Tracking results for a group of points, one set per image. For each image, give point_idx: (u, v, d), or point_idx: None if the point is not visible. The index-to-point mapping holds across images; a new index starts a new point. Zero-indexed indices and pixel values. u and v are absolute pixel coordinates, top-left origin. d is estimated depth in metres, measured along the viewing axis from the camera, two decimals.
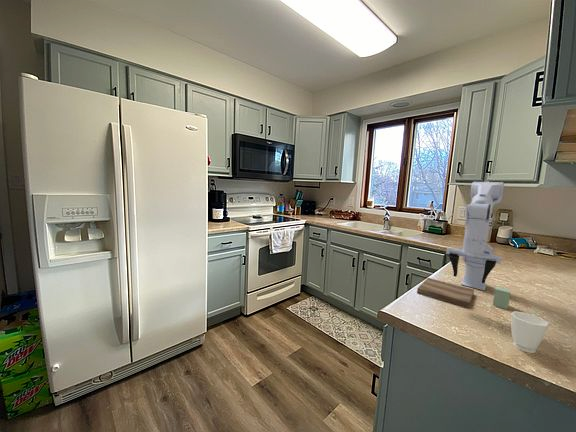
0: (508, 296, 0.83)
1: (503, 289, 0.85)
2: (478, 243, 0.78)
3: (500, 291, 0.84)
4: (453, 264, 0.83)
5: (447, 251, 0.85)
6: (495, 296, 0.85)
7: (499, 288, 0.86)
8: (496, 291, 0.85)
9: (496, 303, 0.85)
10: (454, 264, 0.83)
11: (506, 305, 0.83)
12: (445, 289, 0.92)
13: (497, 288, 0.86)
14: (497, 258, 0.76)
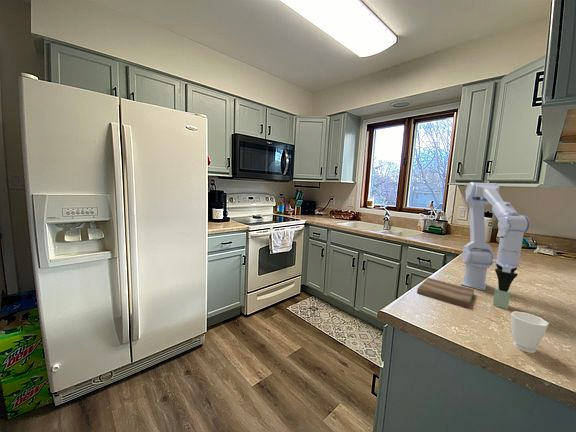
0: (508, 296, 0.83)
1: None
2: (499, 251, 0.84)
3: (500, 291, 0.84)
4: None
5: None
6: (495, 296, 0.85)
7: None
8: (496, 291, 0.85)
9: (496, 303, 0.85)
10: None
11: (506, 305, 0.83)
12: (445, 289, 0.92)
13: (497, 288, 0.86)
14: (502, 266, 0.80)
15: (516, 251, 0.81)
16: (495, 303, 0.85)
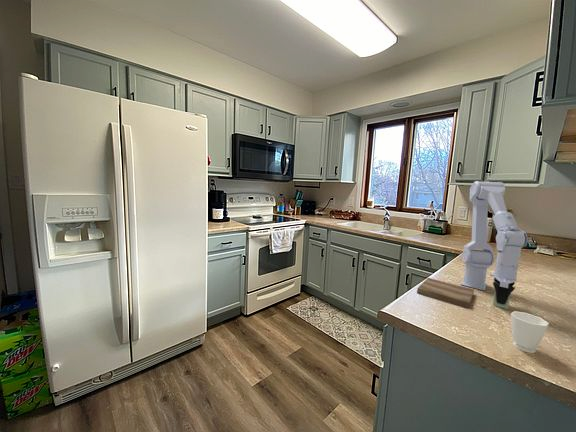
0: None
1: None
2: (496, 265, 0.85)
3: None
4: None
5: None
6: (495, 296, 0.85)
7: None
8: None
9: (496, 303, 0.85)
10: None
11: (506, 305, 0.83)
12: (445, 289, 0.92)
13: None
14: (500, 281, 0.81)
15: (514, 266, 0.81)
16: (495, 303, 0.85)
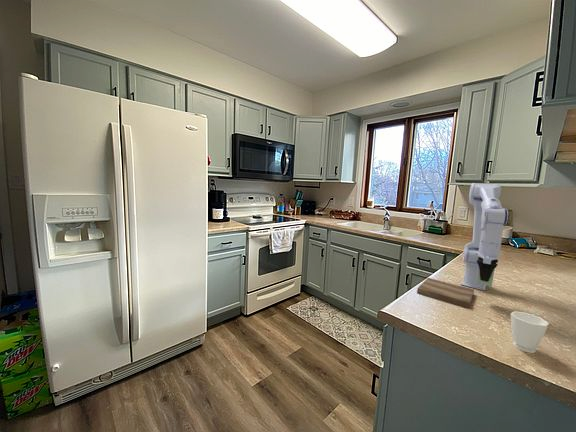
0: (492, 273, 0.84)
1: None
2: (480, 243, 0.87)
3: None
4: None
5: None
6: None
7: None
8: None
9: (481, 281, 0.87)
10: None
11: (490, 282, 0.85)
12: (445, 289, 0.92)
13: None
14: (483, 258, 0.82)
15: (493, 243, 0.83)
16: (480, 281, 0.87)
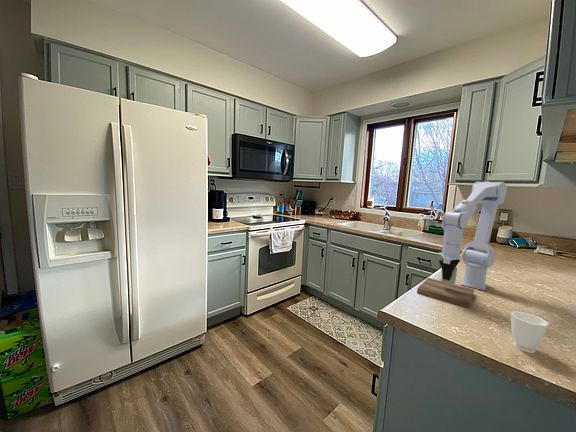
0: (454, 273, 0.90)
1: None
2: (443, 244, 0.92)
3: None
4: None
5: None
6: None
7: None
8: None
9: (444, 280, 0.92)
10: None
11: (452, 282, 0.90)
12: (445, 289, 0.92)
13: None
14: (443, 258, 0.88)
15: (449, 243, 0.90)
16: (443, 280, 0.92)
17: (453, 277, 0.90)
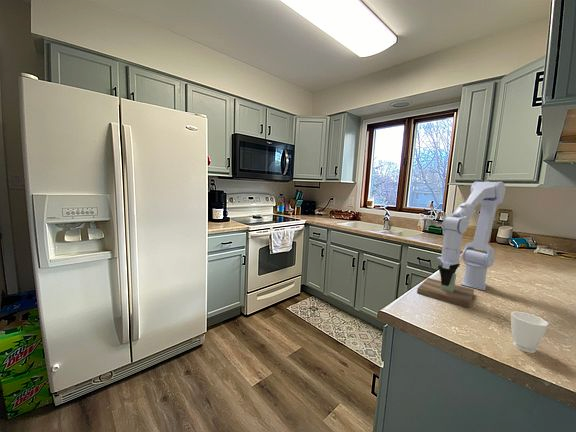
0: (453, 280, 0.90)
1: None
2: (442, 249, 0.92)
3: None
4: None
5: None
6: None
7: None
8: None
9: (443, 287, 0.92)
10: None
11: (451, 288, 0.91)
12: None
13: None
14: (443, 263, 0.88)
15: (448, 248, 0.90)
16: (442, 287, 0.92)
17: (452, 284, 0.90)
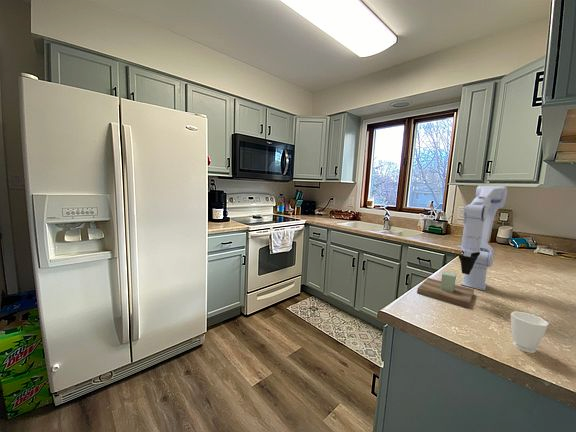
0: (453, 280, 0.90)
1: (449, 274, 0.92)
2: (463, 237, 0.92)
3: (446, 275, 0.91)
4: None
5: None
6: (442, 280, 0.92)
7: (446, 273, 0.93)
8: (443, 276, 0.92)
9: (443, 287, 0.92)
10: None
11: (451, 288, 0.91)
12: None
13: (444, 273, 0.93)
14: (464, 251, 0.87)
15: (471, 236, 0.89)
16: (442, 287, 0.92)
17: (452, 284, 0.90)
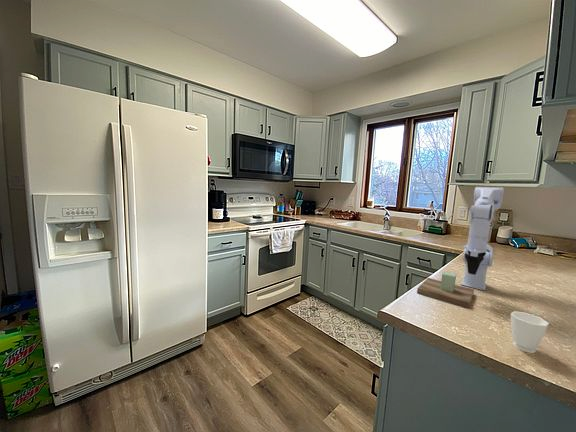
0: (453, 280, 0.90)
1: (449, 274, 0.92)
2: (469, 237, 0.92)
3: (446, 275, 0.91)
4: None
5: None
6: (442, 280, 0.92)
7: (446, 273, 0.93)
8: (443, 276, 0.92)
9: (443, 287, 0.92)
10: None
11: (451, 288, 0.91)
12: None
13: (444, 273, 0.93)
14: (470, 251, 0.87)
15: (479, 237, 0.88)
16: (442, 287, 0.92)
17: (452, 284, 0.90)
